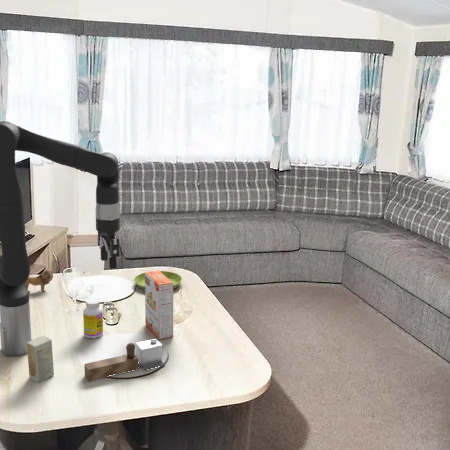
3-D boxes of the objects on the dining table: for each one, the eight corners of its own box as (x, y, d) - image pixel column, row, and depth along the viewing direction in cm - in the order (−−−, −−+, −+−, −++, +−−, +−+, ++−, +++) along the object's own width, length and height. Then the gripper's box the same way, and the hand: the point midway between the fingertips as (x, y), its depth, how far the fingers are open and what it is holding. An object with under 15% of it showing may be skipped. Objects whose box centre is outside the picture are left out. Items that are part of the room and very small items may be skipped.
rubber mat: (144, 370, 186) (144, 369, 186) (134, 358, 193) (134, 356, 193) (164, 366, 189) (164, 364, 189) (153, 354, 197) (153, 352, 197)
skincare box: (46, 370, 184) (44, 334, 181) (54, 375, 181) (52, 339, 178) (28, 378, 179) (25, 341, 176) (36, 383, 177) (34, 346, 173)
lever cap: (141, 366, 187) (141, 347, 186) (136, 359, 192) (135, 341, 190) (162, 361, 191) (162, 343, 189) (156, 355, 195) (156, 336, 193)
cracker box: (144, 324, 218) (144, 271, 213) (159, 322, 221) (159, 269, 216) (157, 340, 206) (158, 284, 201) (173, 337, 209) (174, 282, 204)
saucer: (164, 274, 272) (164, 267, 271) (191, 287, 256) (191, 280, 256) (125, 283, 259) (125, 276, 258) (150, 298, 244) (150, 291, 243)
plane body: (88, 381, 179) (87, 355, 176) (84, 375, 182) (83, 350, 180) (138, 369, 186) (138, 344, 184) (133, 364, 190) (133, 339, 187)
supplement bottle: (98, 340, 205) (97, 306, 202) (80, 337, 206) (79, 303, 203) (106, 332, 212) (105, 298, 208) (88, 329, 213) (87, 296, 209)
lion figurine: (53, 287, 251) (52, 267, 248) (54, 291, 246) (53, 271, 244) (16, 290, 246) (15, 270, 243) (17, 295, 241) (15, 274, 239)
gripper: (89, 212, 192) (90, 259, 196) (103, 222, 180) (104, 272, 184) (111, 209, 195) (112, 256, 200) (126, 220, 184) (127, 269, 188)
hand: (108, 264), depth 192 cm, fingers open, 8 cm apart
